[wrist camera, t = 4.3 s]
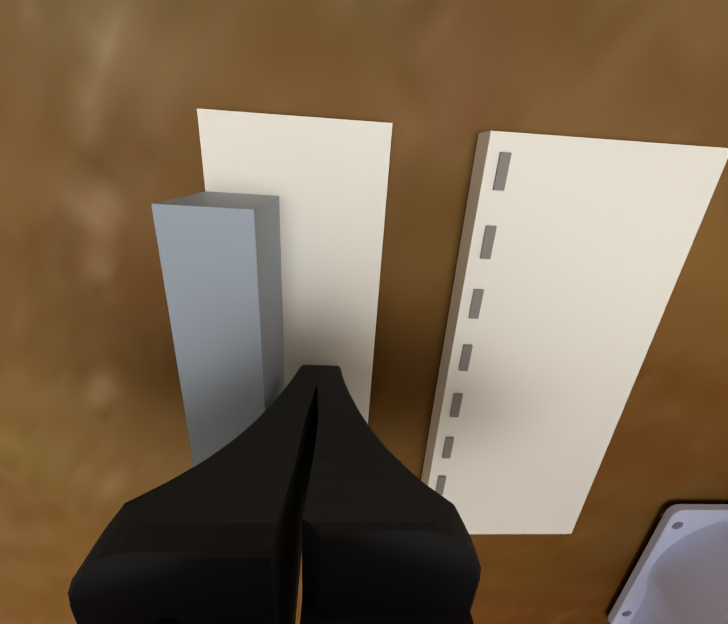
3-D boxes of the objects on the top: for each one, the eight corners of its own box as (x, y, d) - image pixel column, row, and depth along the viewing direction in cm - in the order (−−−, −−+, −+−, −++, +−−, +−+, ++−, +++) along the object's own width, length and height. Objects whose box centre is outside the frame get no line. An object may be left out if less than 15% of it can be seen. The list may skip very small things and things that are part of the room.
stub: (357, 515, 17) (361, 617, 13) (247, 515, 16) (218, 619, 13) (388, 126, 10) (411, 108, 7) (210, 113, 10) (132, 87, 6)
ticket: (559, 514, 17) (572, 536, 16) (415, 513, 17) (420, 536, 16) (699, 149, 11) (735, 148, 10) (478, 133, 11) (492, 130, 10)
